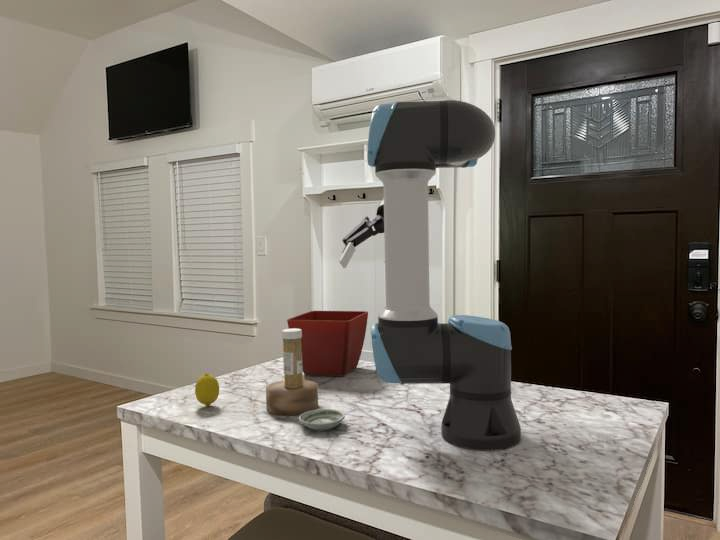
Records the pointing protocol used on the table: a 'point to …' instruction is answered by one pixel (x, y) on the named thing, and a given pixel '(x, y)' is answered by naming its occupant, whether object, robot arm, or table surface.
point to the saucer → (321, 419)
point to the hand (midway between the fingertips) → (364, 264)
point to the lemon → (207, 389)
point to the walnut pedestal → (291, 398)
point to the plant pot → (330, 340)
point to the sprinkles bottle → (292, 358)
